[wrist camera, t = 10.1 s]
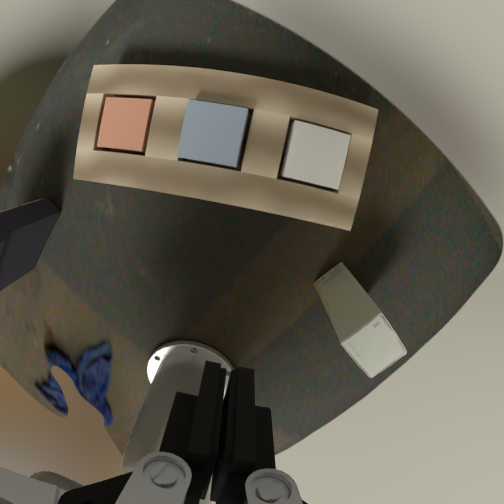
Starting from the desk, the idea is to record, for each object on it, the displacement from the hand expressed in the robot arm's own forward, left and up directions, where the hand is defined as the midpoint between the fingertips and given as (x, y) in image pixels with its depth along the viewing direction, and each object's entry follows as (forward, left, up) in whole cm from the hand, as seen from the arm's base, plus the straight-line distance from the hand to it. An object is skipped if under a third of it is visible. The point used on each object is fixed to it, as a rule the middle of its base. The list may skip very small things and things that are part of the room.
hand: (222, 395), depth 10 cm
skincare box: (-5, -13, -24) cm, 28 cm away
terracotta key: (+9, +13, -22) cm, 27 cm away
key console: (+9, +4, -24) cm, 26 cm away
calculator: (-6, +27, -24) cm, 37 cm away
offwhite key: (+9, -5, -21) cm, 23 cm away
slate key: (+9, +4, -20) cm, 22 cm away
